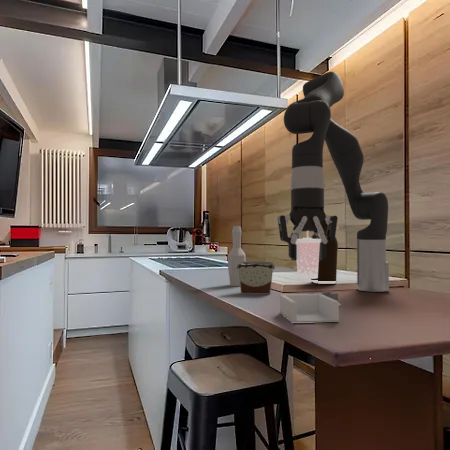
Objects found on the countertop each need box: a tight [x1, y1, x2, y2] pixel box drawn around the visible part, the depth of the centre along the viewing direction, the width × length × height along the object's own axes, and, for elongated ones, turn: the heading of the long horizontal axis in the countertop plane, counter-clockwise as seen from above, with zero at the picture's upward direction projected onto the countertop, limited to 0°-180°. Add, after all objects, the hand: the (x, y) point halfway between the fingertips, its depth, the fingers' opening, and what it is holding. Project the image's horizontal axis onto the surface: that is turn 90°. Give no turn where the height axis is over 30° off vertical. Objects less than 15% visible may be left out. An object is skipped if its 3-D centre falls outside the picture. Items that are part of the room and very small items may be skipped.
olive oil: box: [310, 220, 339, 282], centre depth 144 cm, size 11×11×25 cm
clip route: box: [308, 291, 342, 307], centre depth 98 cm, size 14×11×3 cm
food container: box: [237, 260, 276, 295], centre depth 122 cm, size 12×6×10 cm, turn 84°
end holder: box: [279, 293, 340, 323], centre depth 86 cm, size 10×10×5 cm
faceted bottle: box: [227, 225, 247, 287], centre depth 138 cm, size 6×6×22 cm
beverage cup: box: [295, 231, 321, 280], centre depth 86 cm, size 6×6×14 cm
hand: (307, 259), depth 86 cm, fingers closed on beverage cup, 6 cm apart
